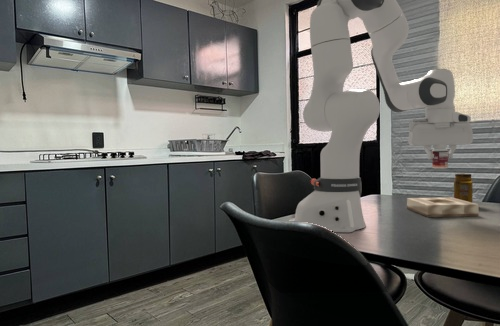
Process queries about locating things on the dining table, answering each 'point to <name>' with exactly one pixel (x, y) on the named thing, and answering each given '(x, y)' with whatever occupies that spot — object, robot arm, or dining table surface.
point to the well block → (442, 207)
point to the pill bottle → (440, 156)
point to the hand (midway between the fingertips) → (440, 158)
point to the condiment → (463, 187)
